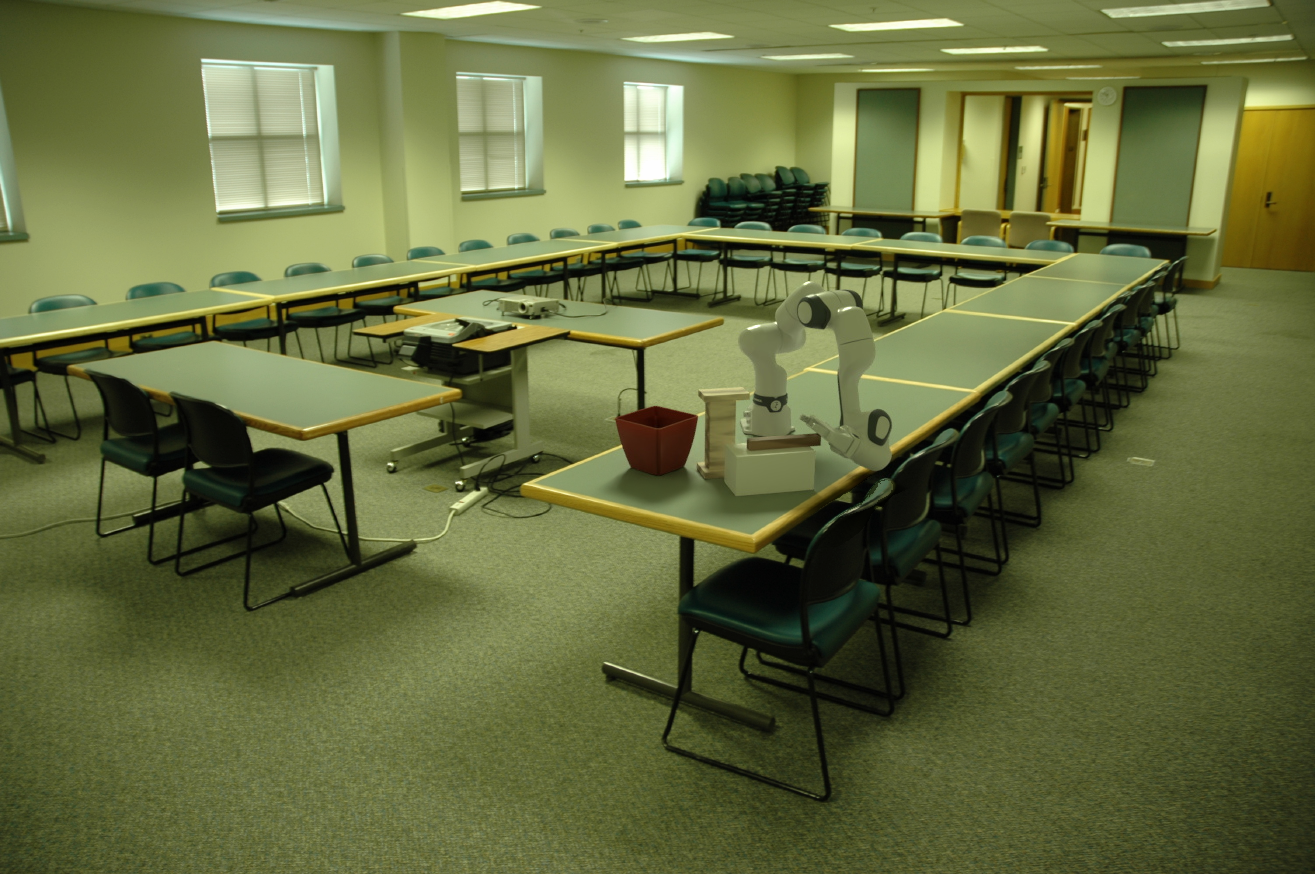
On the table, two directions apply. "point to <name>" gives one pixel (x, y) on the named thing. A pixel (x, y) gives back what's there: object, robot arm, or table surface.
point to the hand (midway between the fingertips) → (806, 421)
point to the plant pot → (657, 438)
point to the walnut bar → (783, 442)
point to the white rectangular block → (768, 469)
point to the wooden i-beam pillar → (719, 427)
